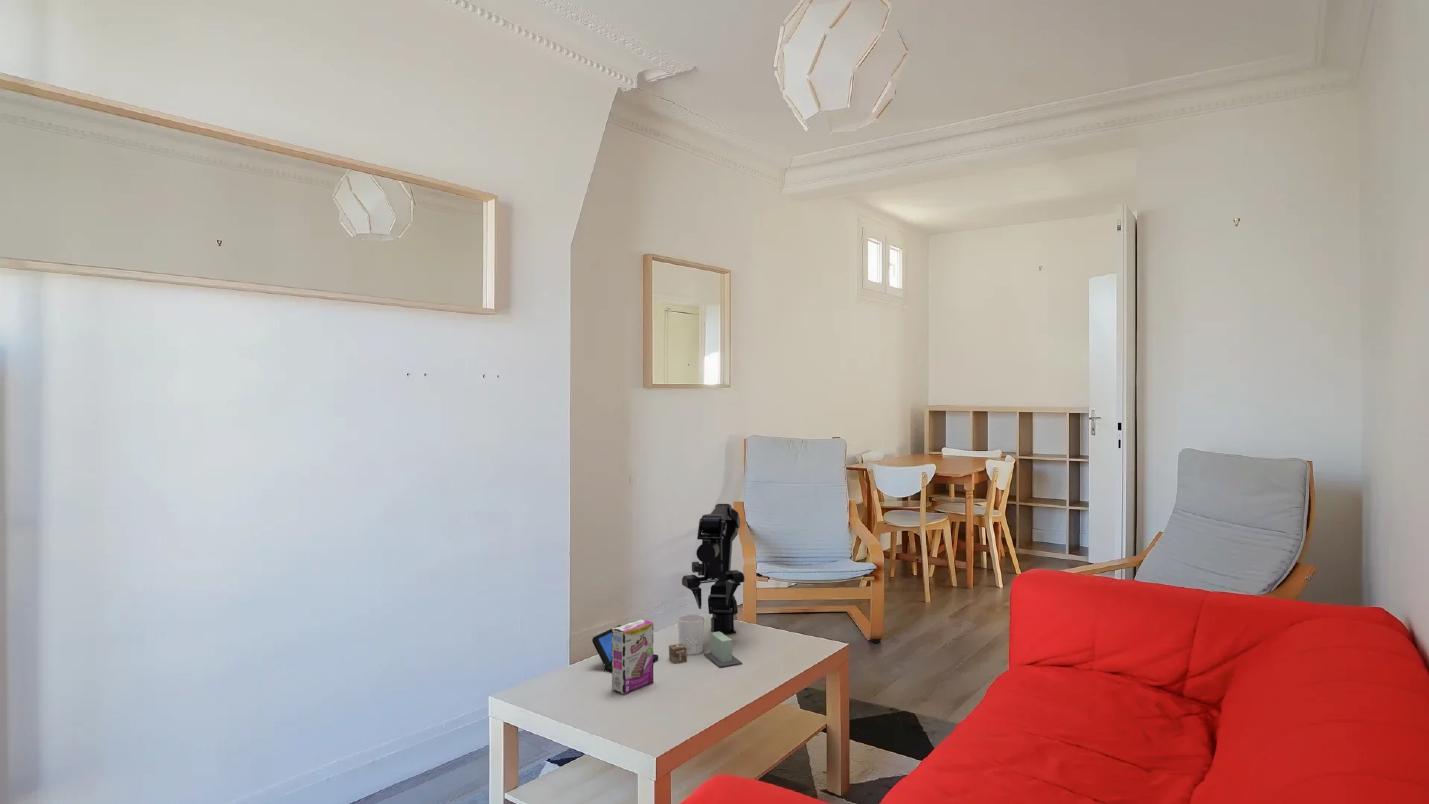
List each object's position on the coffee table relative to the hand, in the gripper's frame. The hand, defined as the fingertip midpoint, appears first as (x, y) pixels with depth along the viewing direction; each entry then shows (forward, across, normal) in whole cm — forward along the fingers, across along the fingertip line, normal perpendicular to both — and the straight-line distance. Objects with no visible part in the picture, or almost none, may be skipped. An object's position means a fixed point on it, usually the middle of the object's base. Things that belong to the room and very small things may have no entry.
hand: (713, 607), depth 233 cm
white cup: (+12, +8, +2) cm, 15 cm away
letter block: (+12, +14, +7) cm, 20 cm away
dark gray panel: (+12, +3, +12) cm, 17 cm away
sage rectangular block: (+11, +2, +11) cm, 16 cm away
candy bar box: (+12, +32, +22) cm, 41 cm away
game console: (+12, +29, +4) cm, 32 cm away
